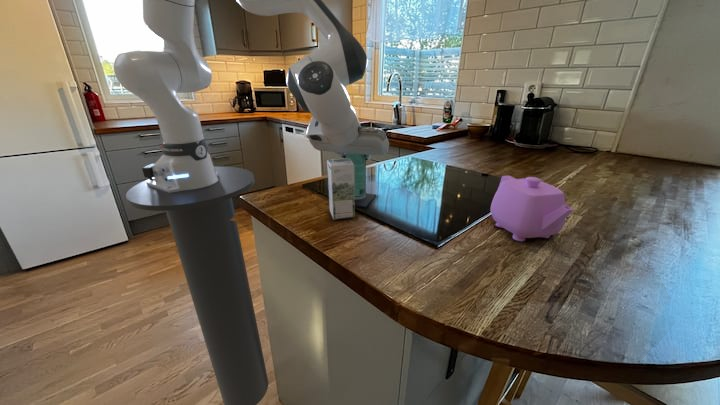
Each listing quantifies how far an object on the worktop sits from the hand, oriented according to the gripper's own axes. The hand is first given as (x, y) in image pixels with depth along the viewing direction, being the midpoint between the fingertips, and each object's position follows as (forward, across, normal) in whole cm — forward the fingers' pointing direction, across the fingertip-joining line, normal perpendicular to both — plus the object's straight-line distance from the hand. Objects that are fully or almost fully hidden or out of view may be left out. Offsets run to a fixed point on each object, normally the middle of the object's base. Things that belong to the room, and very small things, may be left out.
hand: (356, 157), depth 82 cm
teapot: (+5, -43, +13) cm, 45 cm away
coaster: (+8, 0, +9) cm, 13 cm away
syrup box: (+1, 0, +17) cm, 17 cm away
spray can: (+8, 0, +9) cm, 12 cm away
